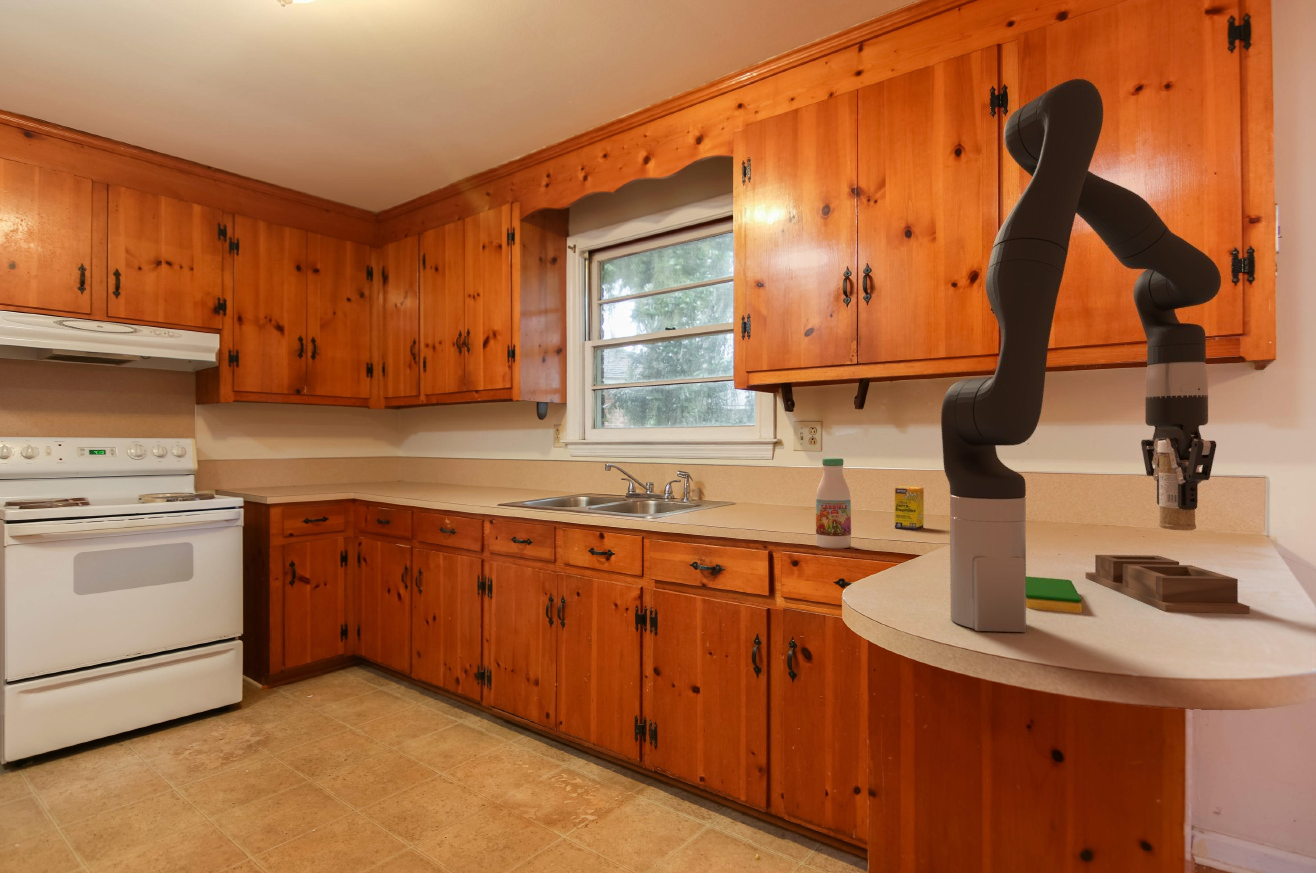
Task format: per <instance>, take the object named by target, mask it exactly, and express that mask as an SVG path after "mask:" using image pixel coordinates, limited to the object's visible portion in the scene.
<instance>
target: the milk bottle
mask: <svg viewBox="0 0 1316 873" xmlns="http://www.w3.org/2000/svg"><path fill="white" fill-rule="evenodd" d="M822 468H823V471H822V476H821V480H820V481H819V484H818V486H817V489H816V493H815V494H816V495H815V544H816V546H817V547H820V548H825V549H848V548H850V547H851V545H852V504H851V502H852V501H851V499H852V498H851V492H850V488H849V486H848V483H847V482H846V480H845V479H846V478H845V476H844V473H843V468H844V458H842V457H824V458H822Z"/></svg>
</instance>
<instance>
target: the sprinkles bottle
mask: <svg viewBox="0 0 1316 873" xmlns="http://www.w3.org/2000/svg"><path fill="white" fill-rule="evenodd" d="M1176 446H1177V445H1176ZM1158 452H1159V454H1158V455H1159V471H1160V472H1159V505H1158V506H1159V523H1158V527H1160V528H1161V529H1165V530H1171V531H1194V530H1196V529H1197V525H1196V509H1195V510H1184V509H1180V508H1179V507H1178V484H1180V483H1179V482H1178V477H1177V473H1176V470H1175V469H1173V468H1172V466H1171V461H1170V455H1169V453H1170V450H1168V449H1167V442H1166V441H1165V440H1163V441H1158ZM1180 461H1181V462H1189V460H1180ZM1185 473H1187V468H1185Z"/></svg>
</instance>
